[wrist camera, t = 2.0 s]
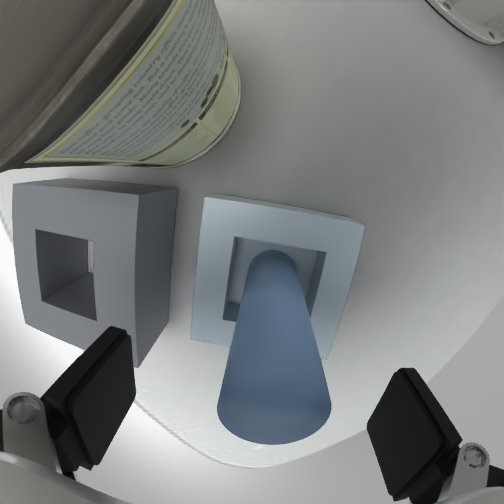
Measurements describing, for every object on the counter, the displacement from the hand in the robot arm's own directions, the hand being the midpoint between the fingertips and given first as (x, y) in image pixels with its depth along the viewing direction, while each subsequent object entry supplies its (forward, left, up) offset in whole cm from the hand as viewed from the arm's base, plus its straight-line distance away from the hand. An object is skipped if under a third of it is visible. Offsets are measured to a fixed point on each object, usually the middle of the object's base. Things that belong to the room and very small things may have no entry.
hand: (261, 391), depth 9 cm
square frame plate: (0, -1, -11) cm, 11 cm away
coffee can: (+9, -11, -11) cm, 18 cm away
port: (+12, 0, -11) cm, 16 cm away
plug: (0, -1, -10) cm, 10 cm away
